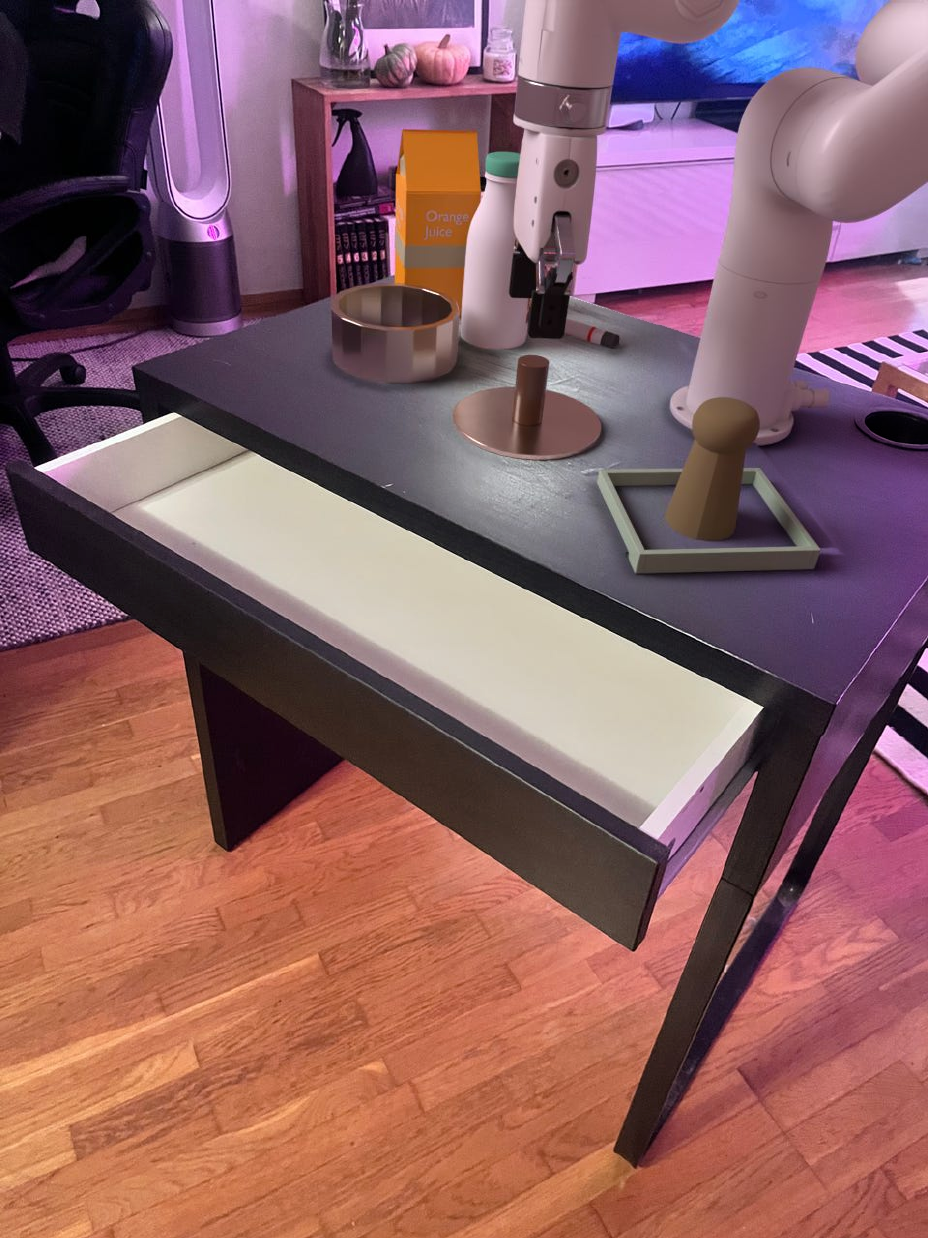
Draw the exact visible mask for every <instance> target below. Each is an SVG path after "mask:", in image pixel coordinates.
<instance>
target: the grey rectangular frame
mask: <svg viewBox="0 0 928 1238" xmlns="http://www.w3.org/2000/svg"><path fill="white" fill-rule="evenodd" d="M682 471H683V468H622V469H621V468H620V469H619V468H618V469H617V468H616V469H615V468H614V469H613V468H612V469H611V468H609V469H608V468H607V469H599V470H598V476H597V482H596V483H597V486H598V488H599V490H600V492H601V495H602V497H603V499H604V501H605V503H606V505H607V507H608V510H609V512H610V514H611V516H612V518H613V520H614V523H615V525H616V527H617V529H618V531H619V533H620V536H621V538H622V540H623V542H624V545H625V546H626V550H627V551H625V554H626V556H627V558H628V561H629V563H630V565H631V568H632V569H633V572H634V574H668V573H670V574H671V573H673V574H674V573H675V574H676V573H705V572H706V573H710V572H711V573H712V572H713V573H714V572H747V571H750V572H751V571H752V572H753V571H784V570H785V571H786V570H787V571H788V570H790V571H791V570H815V567H816V564H817V561H818V559H819V556H820V554H821V551H822V549H821V548H820V547H819V546H818V544H817V543H816V541H815V540H814V539H813V537H812V536H811V534H810V533H809V532H808V530H806V528H805V527H804V525H803V524H802V523H801V521H800V520H799V518H798V517H797V516H796V514H795V513H794V512H793V510H792V509H791V507H790V506H789V505H788V503H786V501H785V499H784V498H783V497H782V495H781V494H780V493H779V492H778V490H777V489H776V488H775V486H774V485H773V483H772V482H771V481H770V479H769V478H768V477H767V476H766V474H765V473H764V472H763V471H762V469H761V468H760V467H744V469H743V476H742V483H741V485H752V486H753V488H755V490H756V492H757V493H758V494H759V495H760V497H761V498H762V500H763V501H764V503H765V504H766V506H767V507H768V508H769V510H770V511H771V512H772V514H773V515H774V516H775V518H776V519H777V521H778V522H779V524H780V525H781V526H782V528H783V530H784V531H785V532H786V534H787V535H788V536H789V538H790V539H791V541H792V542H793V543H794V545H795V546H766V547H765V546H763V547H761V546H760V547H759V546H758V547H715V548H672V549H671V548H670V549H667V548H666V549H645V548H644V546H643V544H642V542H641V540H640V538H639V536H638V533H637V531H636V529H635V527H634V525H633V523H632V521H631V519H630V517H629V515H628V513H627V510H626V509H625V507H624V504H623V503H622V500H621V497H620V496H619V494H618V491H617V489H616V488H615V487H617V486H618V487H621V486H623V487H624V486H677V483H678V481H679V478H680V476H681V473H682Z"/></svg>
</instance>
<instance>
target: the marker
mask: <svg viewBox="0 0 928 1238" xmlns="http://www.w3.org/2000/svg"><path fill="white" fill-rule="evenodd" d="M529 313H530V306H529ZM528 321H529V315H528ZM563 337H574V338H576V339H580V340H582V341H586V342H588V343H592V344H595V345H598V346H601V347H605V348H607V349H610V350H612V349H614V348H615V347H617V346H619V345H620V341H621V336H620V335H619V334H617V333H614V332H610V331H608V330H605V329H602V328H599V327H597V326H593V325H591V324H590V325H589V324H588V323H583V322H581V321H577V320H574V319H571V318H566V325H565V332H564V336H563Z"/></svg>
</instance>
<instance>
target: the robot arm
mask: <svg viewBox="0 0 928 1238" xmlns="http://www.w3.org/2000/svg"><path fill="white" fill-rule="evenodd" d="M739 2H740V0H525V1H524V10H523V11H524V12H523V22H522V33H521V39H520V40H521V42H520V51H519V61H518V72H517V74H518V75H517V82H516V91H515V101H514V112H513V120H512V121H513V123H514V125H516V126H517V127H520V128H522V129H523V134H522V135H523V136H522V140H521V149H520V154H521V155H520V162H519V170H518V178H517V187H516V196H515V207H514V231H515V234H516V239H515V244H514V250H515V252H520V253H513V258H512V267H511V276H510V285H509V295H510V297H512V298H529V299H530V306H529V307H530V313H529V321H528V324H527V333H526V335H527V336H528V338H530V339H540V340H541V339H542V340H543V339H545V340H561V339H563V338H564V337H565V336H564V332H565V325H566V318H567V317H568V311H569V305H570V299H571V293H572V281H573V279H574V271H572V270H573V267H574V264H575V265H577V266H578V265H579V266H580V265H582V264H584V263H585V261H586V259H587V255H588V250H589V249H588V248H589V241H590V232H591V224H592V215H593V207H594V198H595V187H596V179H597V177H596V176H597V165H598V164H597V163H598V162H597V161H598V136H601V135H603V134H605V133H606V131H607V124H608V123H607V122H608V119H609V118H608V117H609V111H610V103H611V97H612V92H613V85H614V79H615V73H616V67H617V60H618V55H619V54H618V53H619V47H620V41H621V36H622V34H623V33H629V34H632V35H633V34H634V35H638V36H643V37H647V38H651V39H655V40H659V41H662V42H666V43H672V44H691V43H695V42H698V41H702V40H704V39H706V38H708V37H710V36H712V35H713V34H715V33H716V32H718V31H719V30H720V29H721V28H722V27H723V26H724V25H725V24H726V23H727V22H728V21H729V20H730V19H731V17H732V16H733V14H734V13H735V12H736V11H735V10H736V9H737V7H738V5H739V4H740V3H739ZM854 63H855V70H856V74H857V78H858V79H856V78H853V77H851V76H847V75H844V74H841V73H839V72H835V71H833V70H829V69H825V68H820V67H815V66H814V67H813V66H807V67H795V68H790V69H787V70H785V71H783V72H780V73H778V74H777V75H775V76H773V77H771V78H770V79H769V80H768V81H766V82H765V83H764V84H763V85H762V86H761V87H760V88H759V89H758V90H757V92H756V93H755V94H754V95H753V97H752V98H751V99H750V101H749V103H748V104H747V106H746V108H745V111H744V113H743V114H742V116H741V119H740V123H739V126H738V131H737V134H736V139H735V140H736V141H735V147H734V157H733V172H732V185H731V196H730V203H729V208H728V209H729V210H728V214H727V220H726V224H725V225H726V226H725V229H724V234H723V239H722V243H721V249H720V252H719V255H718V256H719V257H718V259H717V265H716V269H715V272H714V277H713V280H712V284H711V289H710V295H709V299H708V303H707V307H706V312H705V315H704V320H703V324H702V329H701V334H700V337H699V342H698V345H697V351H696V355H695V359H694V363H693V369H692V373H691V377H690V380H689V384H688V385H685V386H682V387H681V388H679V389H677V390H676V391H675V392H674V393H673V394H672V395H671V397H670V401H669V411H670V413H671V414H672V416H673V417H674V418H675V419H676V420H677V421H678V422H679V423H680V424H681V425H683V426H685V427H686V428H688V429H690V430H692V421H693V416H694V414H695V412H696V410H697V409H698V407H699V406H700V405H701V404H702V403H703V402H704V401H706V400H708V399H712V398H717V397H727V398H733V399H737V400H741V401H743V402H745V403H747V404H749V405H750V406H752V407H753V408H754V409H755V410H756V411H757V413H758V416H759V420H760V429H759V432H758V435H757V437H756V439H755V441H754V442H753V444H756V446H758V447H759V446H766V445H773V444H775V443H778V442H780V441H782V440H784V439H786V438H787V437H788V436H789V434H790V433H791V431H792V428H793V425H794V416H793V414H792V412H796V411H799V409H800V408H807V409H826V408H827V407H828V406H829V405H830V402H831V393H830V390H829V389H827V388H810V389H809V386H808V382H807V381H805V380H803V381H802V380H799V381H798V380H794V381H791V378H792V374H793V371H794V367H795V364H796V361H797V357H798V355H799V351H800V348H801V345H802V341H803V337H804V335H805V332H806V328H807V325H808V321H809V318H810V315H811V311H812V308H813V305H814V302H815V298H816V296H817V292H818V288H819V286H820V283H821V280H822V279H821V278H822V276H823V274H824V270H825V267H826V264H827V260H828V256H829V252H830V247H831V241H832V235H833V226H834V222H836V223H842V224H853V223H854V224H855V223H860V222H865V221H868V220H870V219H872V218H875V217H877V216H879V215H881V214H883V213H885V212H886V211H889V210H890V209H892V208H893V207H895V206H896V205H898V204H899V203H901V202H902V201H904V200H905V199H906V198H908V197H909V196H911V195H912V194H913V193H915V192H917V191H918V190H919V189H920V188H922V187H923V186H925V185H926V184H927V183H928V0H889V1H888V2H887V3H885V4H884V5H883V6H882V7H881V8H880V9H879V10H878V11H877V12H876V13H875V14H874V16H873V17H872V18H871V19H870V21H869V22H868V23H867V25H866V27H865V28H864V30H863V32H862V33H861V36H860V38H859V40H858V43H857V46H856V50H855V58H854ZM547 267H550V268H549V270H548V271H547ZM546 271H547V274H546Z"/></svg>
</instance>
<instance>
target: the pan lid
mask: <svg viewBox="0 0 928 1238" xmlns="http://www.w3.org/2000/svg"><path fill="white" fill-rule="evenodd" d="M550 363H551V362H550V360H549V359H548V358H547V357H545V356H543V355H538V354H524V355H521V356H519V357H518V359H517V365H516V366H517V367H516V377H515V386H500V387H499V386H498V387H492V388H485V389H482V390H479V391H476V392H473V393H471V394H468V395H467V396H465V397H463V398H462V399H461V400H459V402H457V404H456V405H455V407H454V409H453V412H452V424H453V425H454V428H455V430H456V432H457V433H458V434H459V435H460V436H461V437H462V438H463V439H465V440H466V441H467V442H468V443H470V444H472V445H474V446H475V447H477V448H480V449H482V450H484V451H487V452H490V453H493V454H496V455H500V456H504V457H507V458H512V459H513V458H514V459H520V460H521V459H522V460H529V461H530V460H531V461H532V460H533V461H535V460H537V461H543V460H544V461H546V460H557V459H564V458H570V457H573V456H575V455H576V456H577V455H579V454H582V453H584V452H585V451H588V450H589V449H591V448H592V447H593V446H595V444H596V443H597V442H598V441H599V440H600V437H601V433H602V422H601V420H600V418H599V416H598V414H597V413H596V412H595V411H594V410H593V409H592V408H591V407H589V406H588V405H587V404H585V403H584V402H581V401H580V400H578V399H577V398H575V397H571V396H569V395H566V394H563V393H561V392H557V391H553V390H550V389H547V386H548V378H549V373H550V372H549V371H550Z"/></svg>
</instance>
